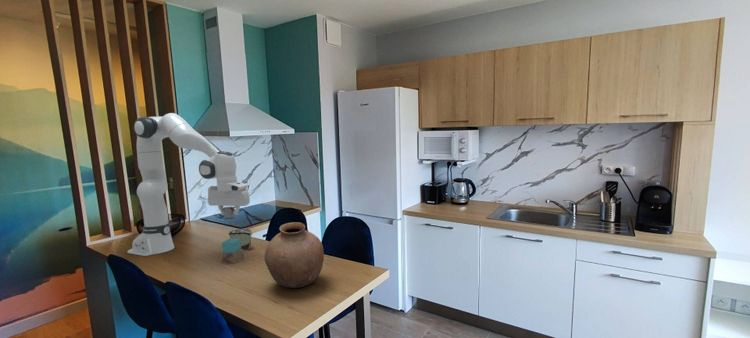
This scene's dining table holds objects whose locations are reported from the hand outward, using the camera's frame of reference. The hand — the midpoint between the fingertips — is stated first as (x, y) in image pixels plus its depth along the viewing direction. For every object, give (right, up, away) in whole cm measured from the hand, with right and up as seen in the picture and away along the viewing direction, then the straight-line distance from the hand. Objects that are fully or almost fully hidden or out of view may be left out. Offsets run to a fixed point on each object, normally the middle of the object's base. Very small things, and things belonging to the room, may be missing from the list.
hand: (229, 214), depth 171 cm
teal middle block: (0, -18, +2) cm, 18 cm away
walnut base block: (+1, -23, +2) cm, 23 cm away
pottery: (+38, -25, -26) cm, 52 cm away
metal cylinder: (0, -2, 0) cm, 2 cm away
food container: (-1, -21, +20) cm, 29 cm away
